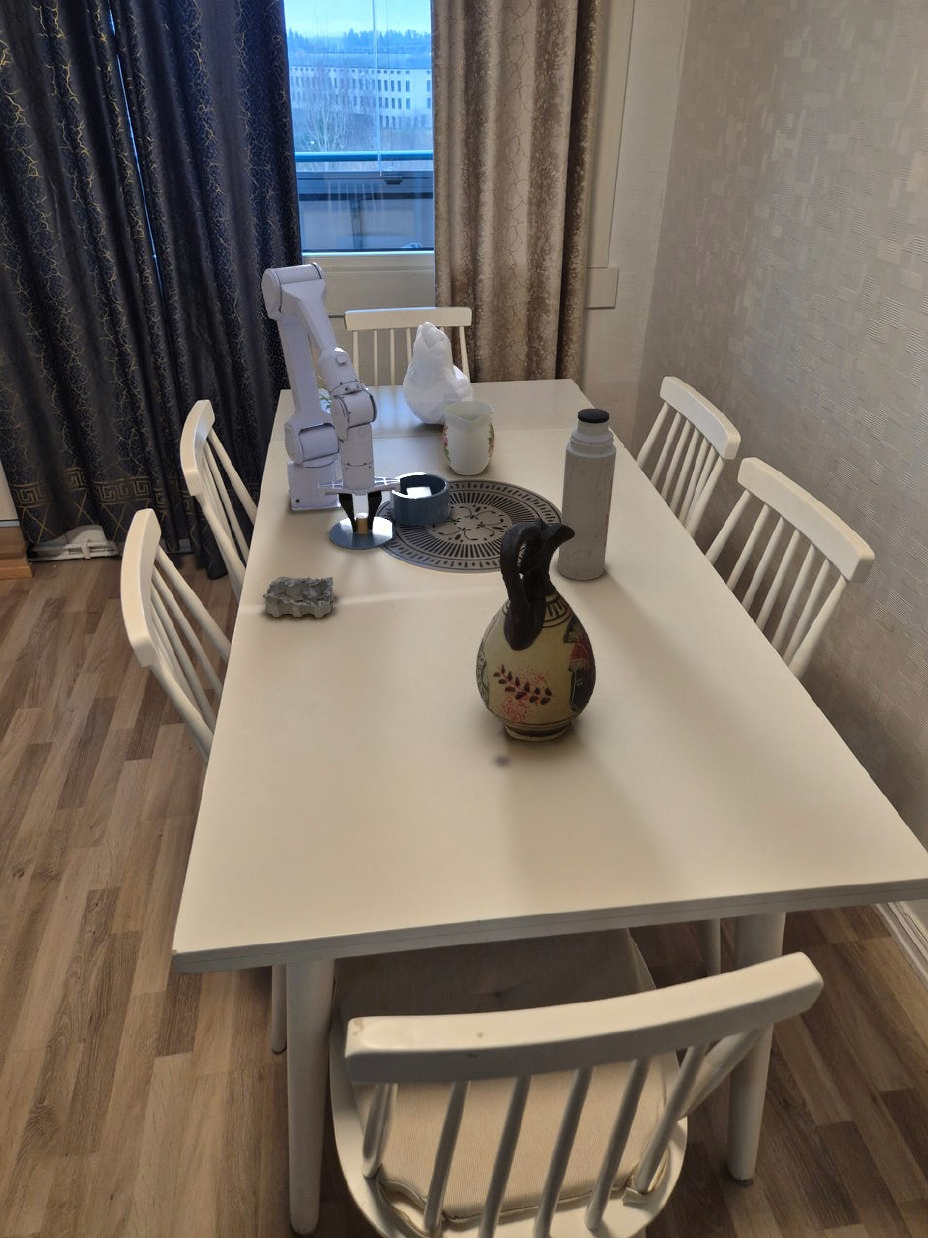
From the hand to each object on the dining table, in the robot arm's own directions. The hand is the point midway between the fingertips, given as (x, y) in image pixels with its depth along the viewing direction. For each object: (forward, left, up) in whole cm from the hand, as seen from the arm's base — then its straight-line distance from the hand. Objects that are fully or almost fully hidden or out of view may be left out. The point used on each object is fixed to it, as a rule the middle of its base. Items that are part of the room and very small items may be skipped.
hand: (362, 528), depth 155 cm
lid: (0, 0, -1) cm, 1 cm away
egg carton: (-11, -22, -2) cm, 25 cm away
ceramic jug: (+19, -56, -2) cm, 59 cm away
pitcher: (+25, +28, -2) cm, 37 cm away
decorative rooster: (+23, +52, -2) cm, 57 cm away
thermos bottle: (+37, -18, -2) cm, 41 cm away
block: (+11, +7, -1) cm, 13 cm away
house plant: (-1, +50, -2) cm, 50 cm away
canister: (+12, +7, -2) cm, 14 cm away
